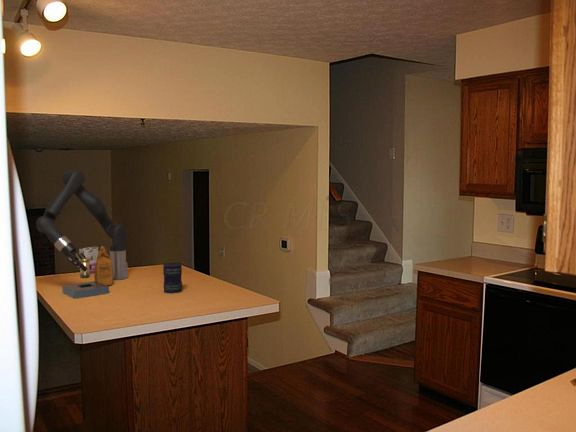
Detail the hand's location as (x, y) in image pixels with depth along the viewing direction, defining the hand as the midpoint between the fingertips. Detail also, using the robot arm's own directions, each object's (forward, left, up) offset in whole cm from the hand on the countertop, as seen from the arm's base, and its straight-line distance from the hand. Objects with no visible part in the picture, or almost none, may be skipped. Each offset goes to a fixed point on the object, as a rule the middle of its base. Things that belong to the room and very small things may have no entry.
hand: (88, 269), depth 282 cm
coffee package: (-15, -16, -13) cm, 26 cm away
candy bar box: (-23, -58, -13) cm, 64 cm away
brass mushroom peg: (+1, -1, -4) cm, 5 cm away
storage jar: (-36, +26, -13) cm, 46 cm away
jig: (+1, -1, -13) cm, 13 cm away
